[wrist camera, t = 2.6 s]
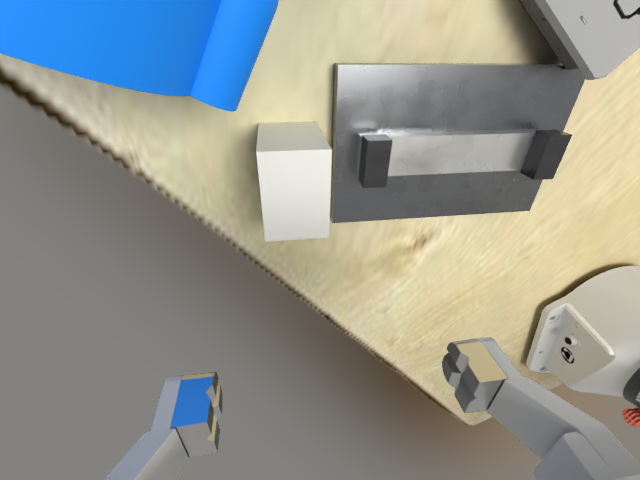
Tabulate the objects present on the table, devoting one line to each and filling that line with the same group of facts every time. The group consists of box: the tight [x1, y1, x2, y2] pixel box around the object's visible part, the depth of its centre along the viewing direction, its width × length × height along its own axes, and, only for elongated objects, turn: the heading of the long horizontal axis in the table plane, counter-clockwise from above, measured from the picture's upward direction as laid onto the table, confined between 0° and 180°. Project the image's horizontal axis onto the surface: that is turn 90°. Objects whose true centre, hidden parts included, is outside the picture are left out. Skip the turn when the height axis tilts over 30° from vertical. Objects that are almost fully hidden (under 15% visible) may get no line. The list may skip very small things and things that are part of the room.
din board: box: [330, 63, 585, 223], centre depth 29 cm, size 14×22×4 cm, turn 89°
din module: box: [256, 122, 332, 242], centre depth 26 cm, size 8×5×8 cm, turn 179°
